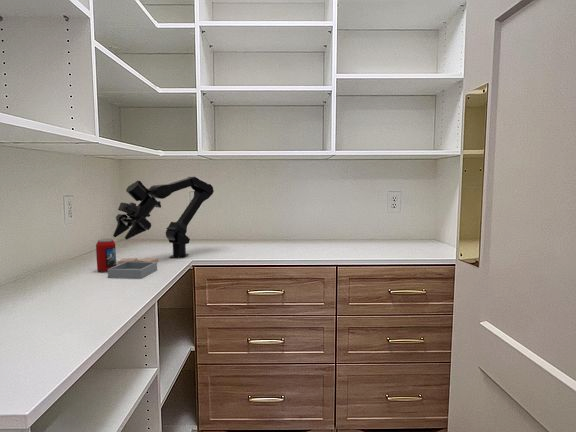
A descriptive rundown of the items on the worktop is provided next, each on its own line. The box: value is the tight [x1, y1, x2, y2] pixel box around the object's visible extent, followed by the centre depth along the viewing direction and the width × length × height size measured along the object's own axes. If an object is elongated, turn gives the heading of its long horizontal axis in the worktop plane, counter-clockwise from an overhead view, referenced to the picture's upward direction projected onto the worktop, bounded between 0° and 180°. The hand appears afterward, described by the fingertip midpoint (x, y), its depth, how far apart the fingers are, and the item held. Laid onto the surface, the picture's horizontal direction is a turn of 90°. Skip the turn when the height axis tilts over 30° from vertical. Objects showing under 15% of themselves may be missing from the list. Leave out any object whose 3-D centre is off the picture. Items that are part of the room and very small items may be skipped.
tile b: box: [137, 257, 159, 263], centre depth 158 cm, size 6×6×1 cm
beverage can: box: [95, 238, 117, 273], centre depth 143 cm, size 7×7×12 cm
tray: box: [107, 261, 158, 280], centre depth 139 cm, size 13×13×3 cm
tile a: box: [117, 257, 139, 265], centre depth 158 cm, size 6×6×1 cm
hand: (119, 237), depth 147 cm, fingers open, 9 cm apart
